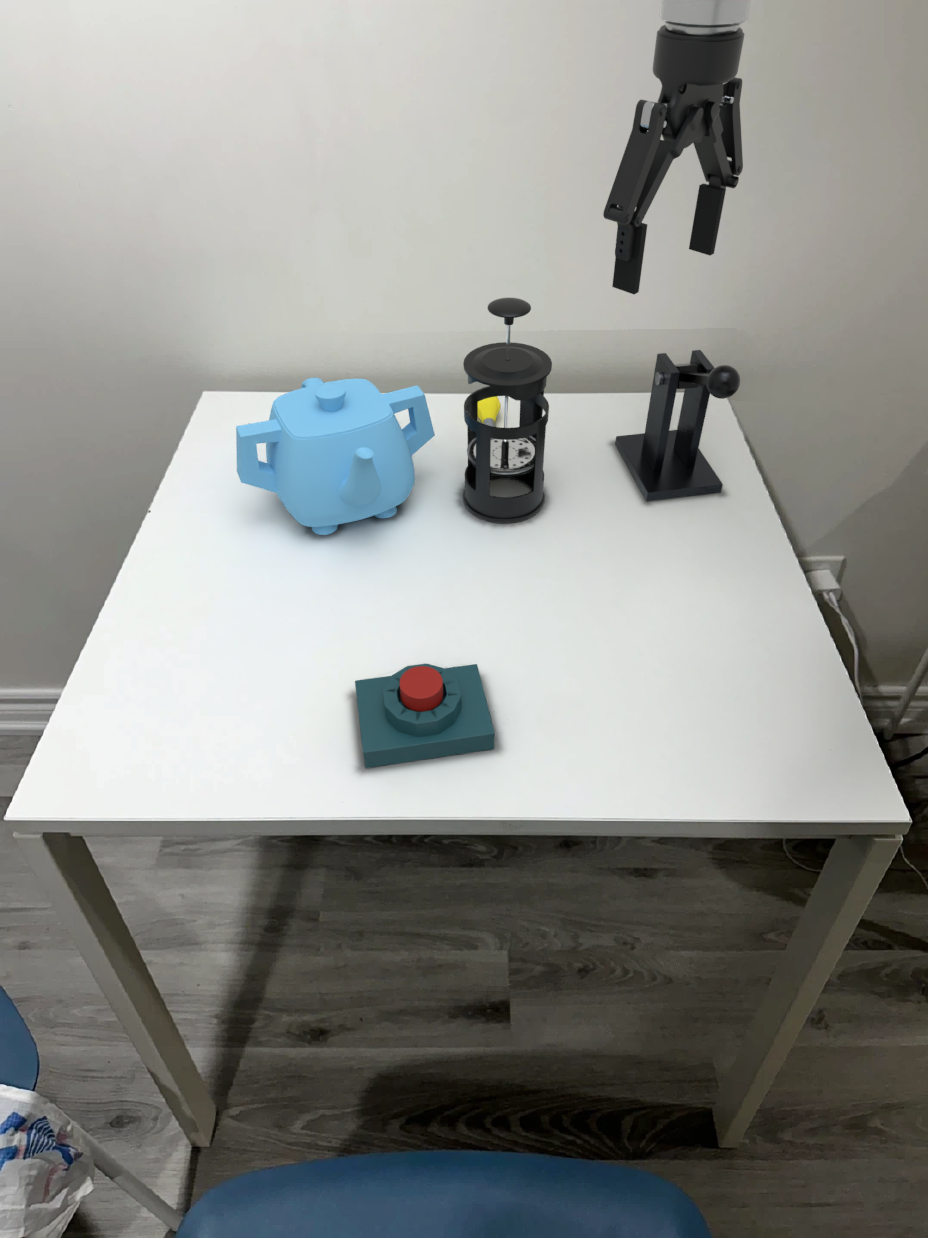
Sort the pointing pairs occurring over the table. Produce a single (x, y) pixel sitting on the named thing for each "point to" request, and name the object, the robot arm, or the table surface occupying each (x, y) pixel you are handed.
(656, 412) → the ball knob lever stand
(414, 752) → the button box
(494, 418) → the light bulb
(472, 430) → the french press
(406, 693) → the stop button
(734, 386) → the switch lever
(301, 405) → the teapot
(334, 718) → the table surface
